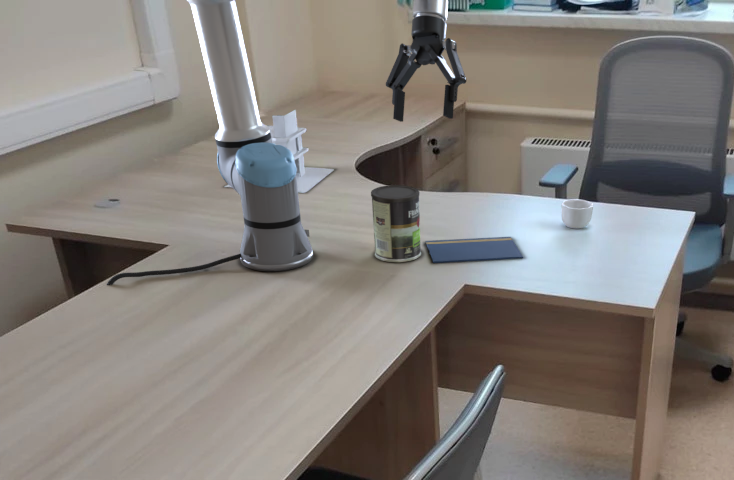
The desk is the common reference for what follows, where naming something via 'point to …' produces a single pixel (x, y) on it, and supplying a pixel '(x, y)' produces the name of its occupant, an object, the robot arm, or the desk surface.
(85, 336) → the desk surface
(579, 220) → the teacup
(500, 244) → the blue flat rectangular block
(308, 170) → the architectural model
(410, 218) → the coffee can
